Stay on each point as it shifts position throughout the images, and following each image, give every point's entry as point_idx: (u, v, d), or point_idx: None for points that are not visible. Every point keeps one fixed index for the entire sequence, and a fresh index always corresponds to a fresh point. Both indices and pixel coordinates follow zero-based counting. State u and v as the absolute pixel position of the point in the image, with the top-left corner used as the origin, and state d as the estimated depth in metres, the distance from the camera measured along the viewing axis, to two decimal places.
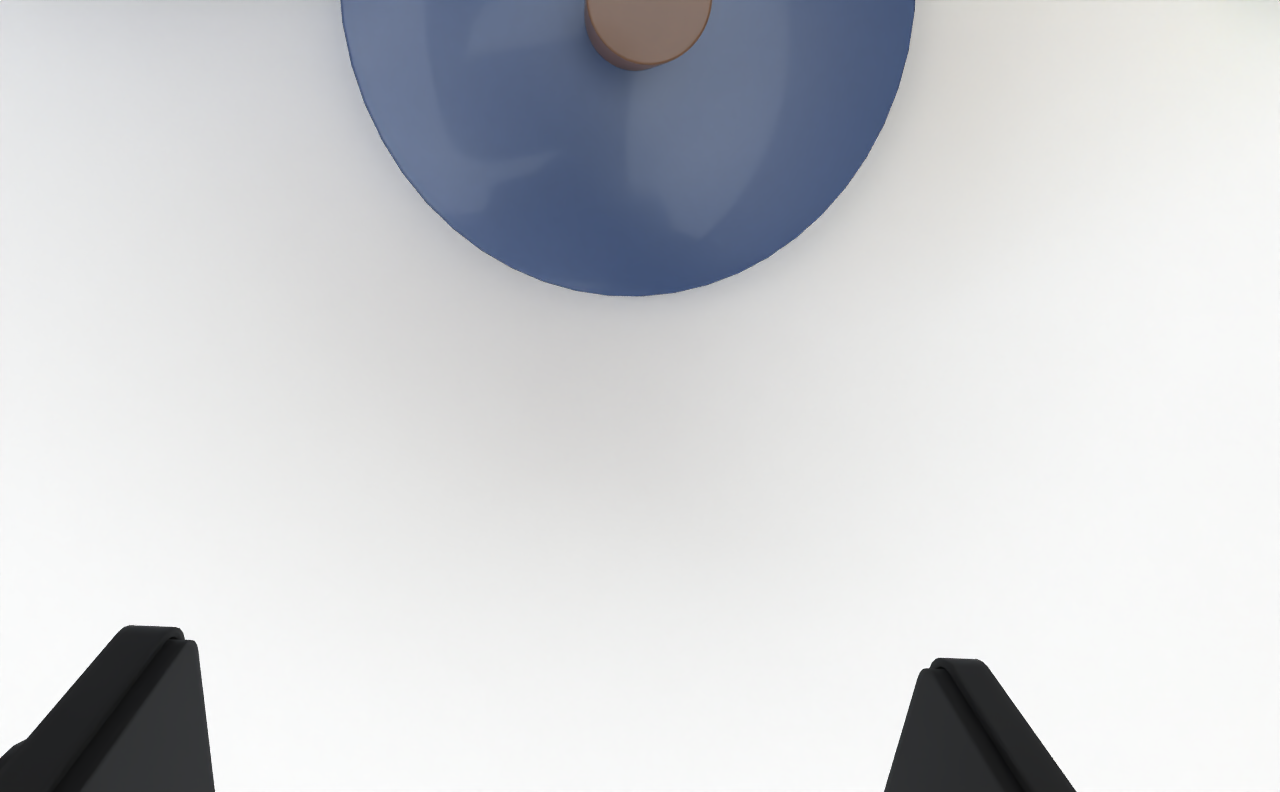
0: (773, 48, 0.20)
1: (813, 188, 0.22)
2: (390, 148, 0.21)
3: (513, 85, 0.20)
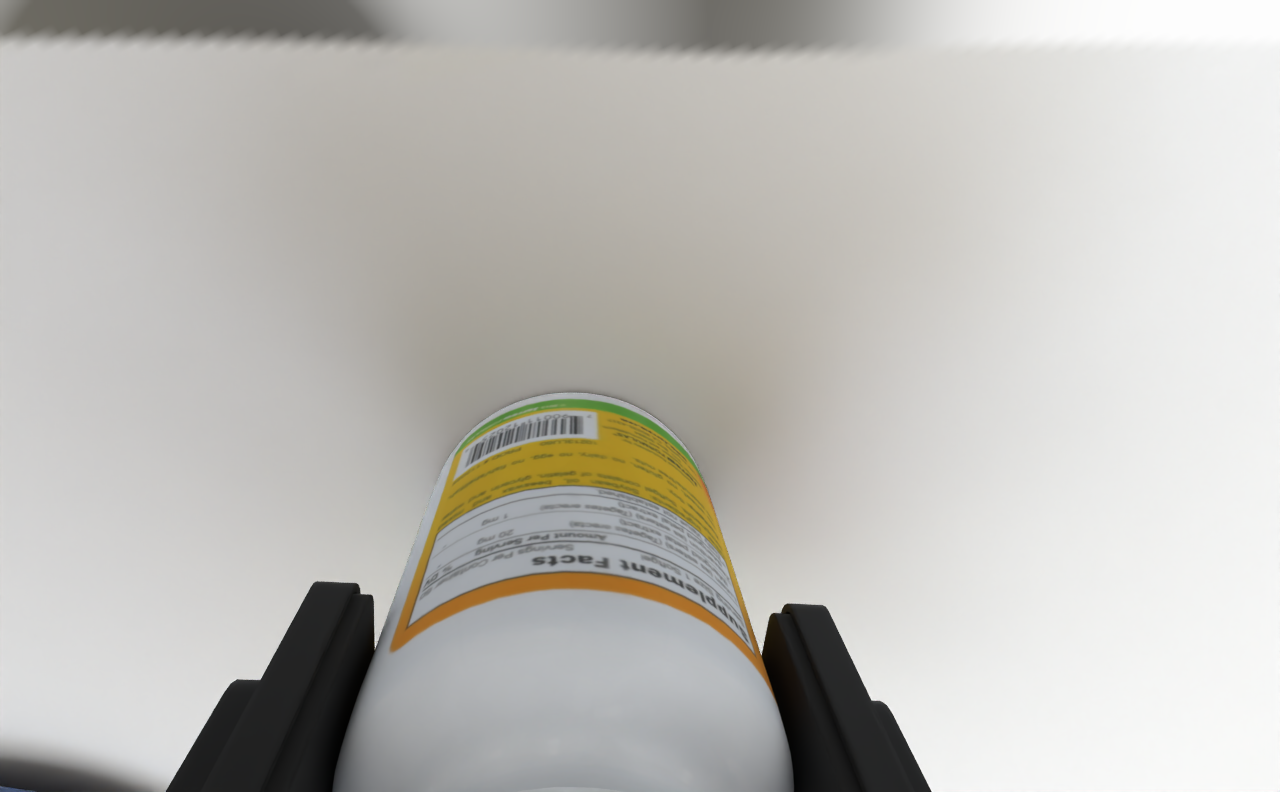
0: None
1: None
2: None
3: None
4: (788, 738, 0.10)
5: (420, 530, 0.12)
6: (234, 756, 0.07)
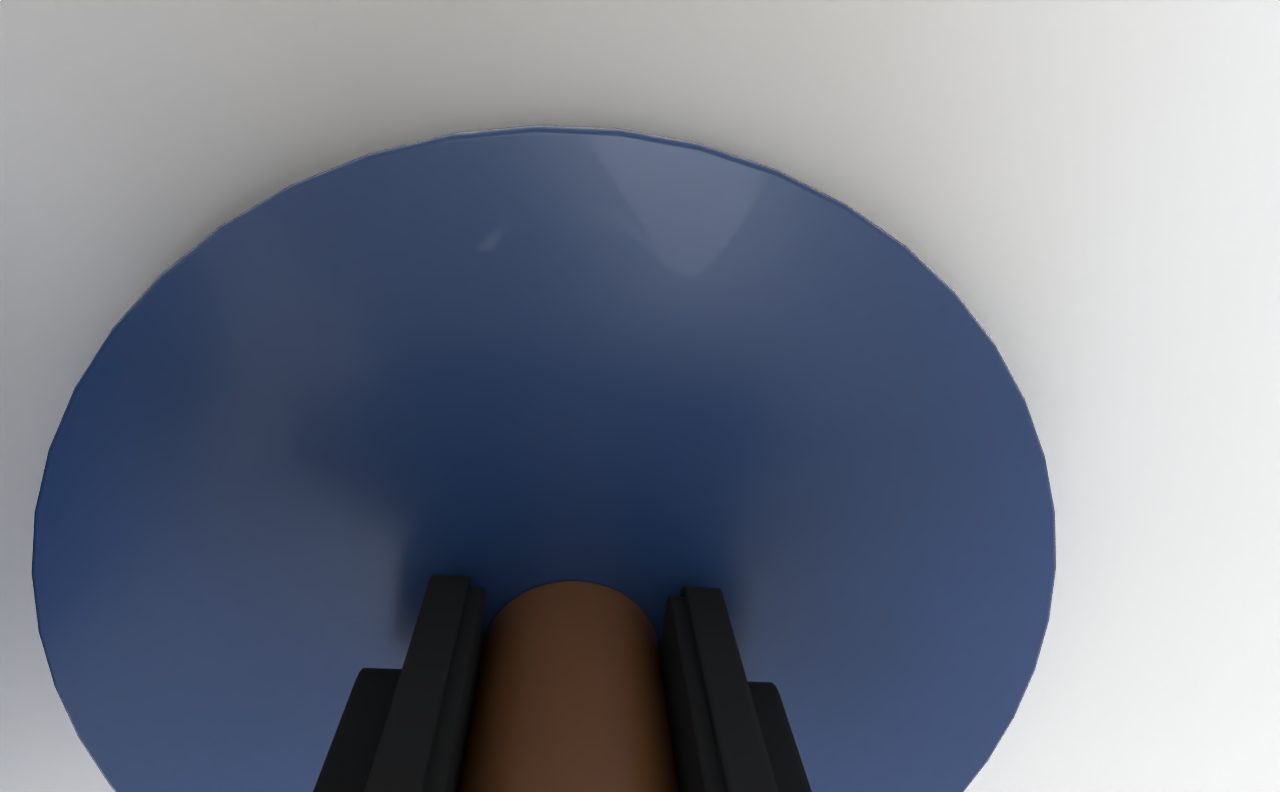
0: (812, 575, 0.11)
1: (982, 696, 0.12)
2: None
3: None
4: (673, 717, 0.10)
5: None
6: (395, 736, 0.08)
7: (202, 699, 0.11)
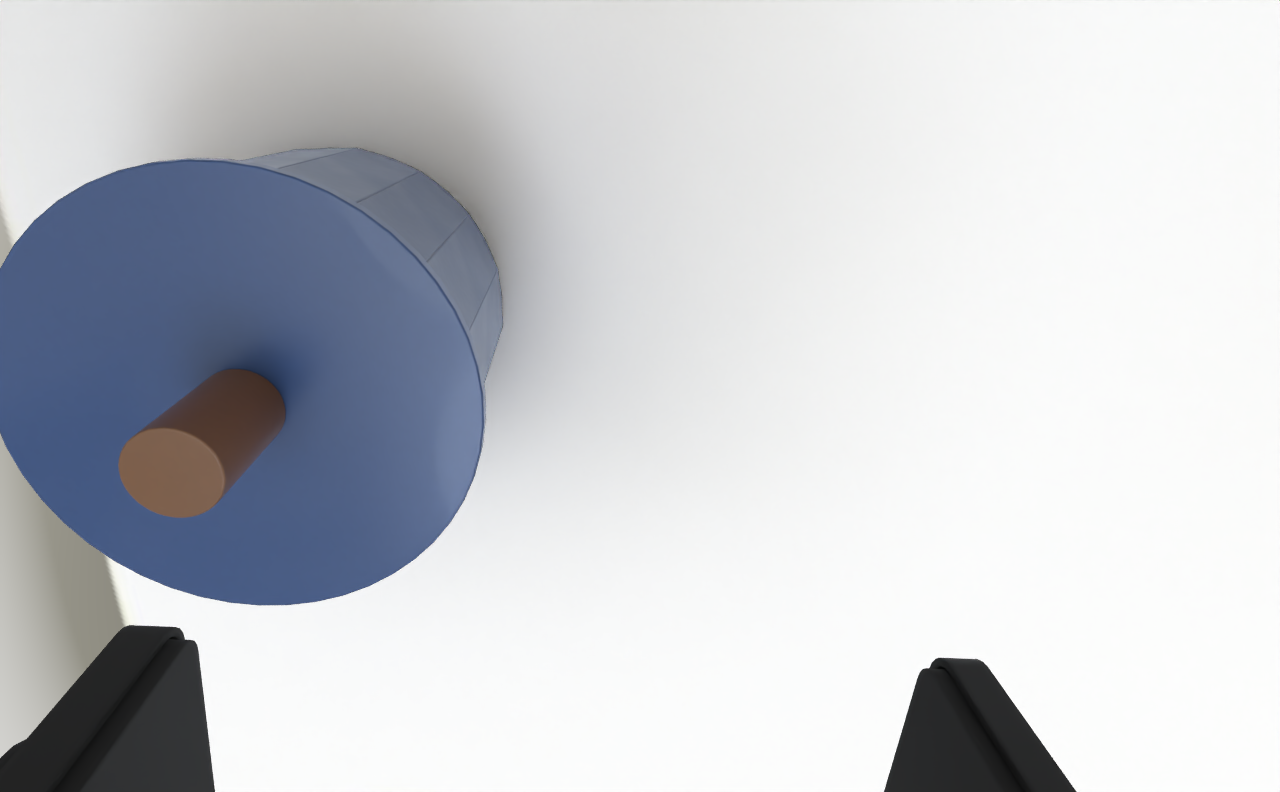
0: (354, 369, 0.24)
1: (459, 438, 0.25)
2: (150, 578, 0.26)
3: None
4: None
5: None
6: None
7: (64, 428, 0.24)
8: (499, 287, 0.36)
